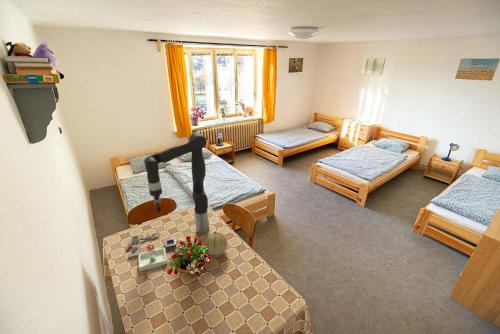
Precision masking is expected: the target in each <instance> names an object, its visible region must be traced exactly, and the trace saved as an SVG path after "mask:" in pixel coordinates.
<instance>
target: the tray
mask: <svg viewBox="0 0 500 334" xmlns="http://www.w3.org/2000/svg"><path fill="white" fill-rule="evenodd" d="M154 252H155V257H156V260H155V261H154V262H150V258H149V253H148V251H145V252H141V253H140V252H139V256H138V269H139V272H142V271H143V272H144V271H147V270H151V269H154V268H158V267H162V266H165V264H166V265H167V264H168V262H167V261H168V260H167V252H166V246H165V247H161V248H156V249H154Z"/></svg>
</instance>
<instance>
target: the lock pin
mask: <svg viewBox="0 0 500 334" xmlns="http://www.w3.org/2000/svg"><path fill="white" fill-rule="evenodd" d="M146 250H147V252H148V253H149V258H150V262H154V261H155V260H156V257H155V252H154V250H155V246H154V244H149V245H148V246H146Z"/></svg>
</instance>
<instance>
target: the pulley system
mask: <svg viewBox="0 0 500 334" xmlns="http://www.w3.org/2000/svg"><path fill="white" fill-rule="evenodd" d="M153 236H154V237H153ZM160 237H161V235H160V233H159V231H154V232H153V233H152V234H151V235H150V234H148V233H147V234H146V235H144V238H143V237H142V238H141V237H140V236H139V235H133V236H132V237H131V240H130V241H128V242H127V243H126V244H127V247H128V248H132V251H131V252H130V253H128V255H127V256H128V257H127V258H129V259H133V258H136V257H139V254H140V252H141V247H138V244H139V246H141V245H142V244H143V243H146V242H149V241H152V240H155V239H159V238H160ZM144 239H145V240H144ZM141 240H143V241H141ZM137 250H138V251H137Z"/></svg>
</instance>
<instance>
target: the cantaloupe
mask: <svg viewBox="0 0 500 334" xmlns="http://www.w3.org/2000/svg"><path fill="white" fill-rule="evenodd" d="M205 246H206V247H207V248H208V251H207V250H206V252H207V253H208V254H209V255H211V256H220V255H222V254H223V253H225V251H226V250H227V246H228V240H227V237H226V236H225V235H224V234H223V233H222V232H219V231H218V232H217V231H214V232H212V233H210V234H208V236H207V237H206V238H205V241H204V247H205Z"/></svg>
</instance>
